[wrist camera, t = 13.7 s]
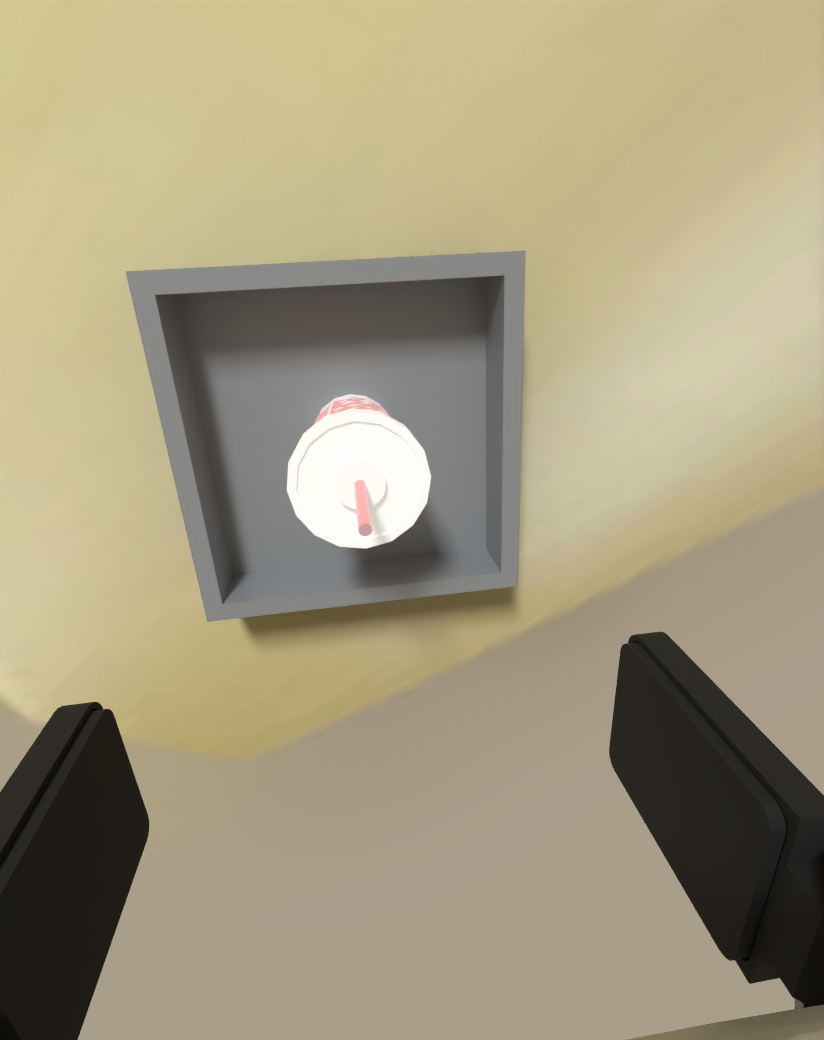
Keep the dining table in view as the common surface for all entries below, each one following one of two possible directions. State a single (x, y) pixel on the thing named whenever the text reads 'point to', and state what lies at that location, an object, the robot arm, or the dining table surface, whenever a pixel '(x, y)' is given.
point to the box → (316, 382)
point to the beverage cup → (358, 475)
